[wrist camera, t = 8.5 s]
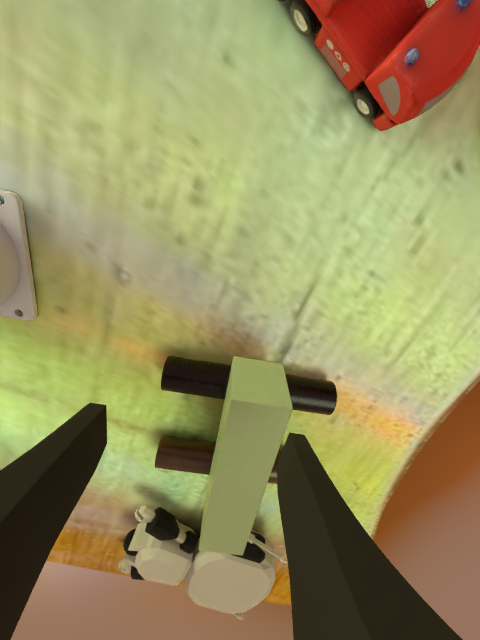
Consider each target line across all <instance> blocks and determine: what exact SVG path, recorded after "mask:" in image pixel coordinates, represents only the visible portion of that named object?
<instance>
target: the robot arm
mask: <svg viewBox="0 0 480 640" xmlns="http://www.w3.org/2000/svg"><path fill="white" fill-rule="evenodd" d="M0 196H2V197H3V199H4V204H3V203H2V202H1V200H0V316H2V317H8V318H14V319H20V320H26V321H32V320H34V319H35V318H37V316H38V311H37V304H36V297H35V289H34V282H33V275H32V268H31V261H30V254H29V246H28V239H27V232H26V225H25V218H24V211H23V203H22V200H21V198H20V197H19V196H18V195H17V194H16V193H14V192H10V191H5V190H0ZM19 310H21V311H22V313H23V314H22V313H20V311H19ZM106 444H107V418H106V405H101V404H94V403H89V404H88V405H86V406H85V407H84V408H82V409H81V410H80V411H79V412H78V413H76V414H75V415H74V416H73V417H71V418H70V419H69V420H68V421H66V422H65V423H64V424H63V425H61V426H60V427H59V428H58V429H56V430H55V431H54V432H53V433H51V434H50V435H49V436H47V437H46V438H45V439H43V440H42V441H41V442H40V443H38V444H37V445H36V446H34V447H33V448H32V449H30V450H29V451H27V452H26V453H25V454H23V455H22V456H20V457H19V458H18V459H16V460H15V461H13V462H12V463H11V464H9V465H8V466H6V467H5V468H3V469H2V470H0V640H10V639H11V637H12V635H13V632H14V630H15V628H16V626H17V623H18V621H19V619H20V617H21V614H22V612H23V610H24V608H25V605H26V603H27V601H28V599H29V596H30V594H31V592H32V590H33V588H34V586H35V583H36V581H37V579H38V577H39V574H40V573H41V571H42V568H43V566H44V564H45V562H46V560H47V558H48V555H49V553H50V551H51V549H52V547H53V546H54V544H55V542H56V540H57V538H58V536H59V534H60V532H61V531H62V529H63V527H64V525H65V524H66V522H67V520H68V518H69V516H70V515H71V513H72V511H73V509H74V508H75V506H76V504H77V502H78V501H79V499H80V497H81V495H82V493H83V492H84V490H85V488H86V486H87V484H88V483H89V481H90V479H91V477H92V475H93V474H94V472H95V470H96V468H97V465H98V463H99V461H100V459H101V456H102V454H103V451H104V449H105V447H106ZM277 486H278V499H279V506H280V513H281V520H282V526H283V533H284V540H285V546H286V553H287V560H288V568H289V576H290V589H291V603H292V617H293V635H294V640H462V639H461V638H460V637H459V636H458V635H457V634H456V633H455V632H454V631H453V630H452V629H451V628H450V627H449V626H448V625H447V624H446V623H445V622H444V621H443V620H442V619H441V618H440V616H439V615H438V614H437V613H436V612H435V611H434V610H433V609H432V608H431V607H430V606H429V605H428V604H427V603H426V602H425V601H424V600H423V599H422V597H420V595H419V594H418V593H417V592H416V591H415V590H414V589H413V588H412V586H411V585H410V584H409V583H408V582H407V581H406V580H405V579H404V577H403V576H402V575H401V574H400V573H399V572H398V570H397V569H396V568H395V567H394V566H393V565H392V564H391V562H390V561H389V560H388V559H387V558H386V556H385V555H384V554H383V553H382V551H381V550H380V549H379V548H378V546H377V545H376V544H375V543H374V541H373V540H372V539H371V537H370V536H369V535H368V534H367V532H366V531H365V530H364V528H363V527H362V526H361V524H360V523H359V521H358V520H357V519H356V517H355V516H354V514H353V513H352V511H351V510H350V509H349V507H348V506H347V504H346V503H345V501H344V500H343V498H342V497H341V495H340V494H339V492H338V491H337V489H336V487H335V486H334V484H333V483H332V481H331V479H330V478H329V476H328V475H327V473H326V471H325V470H324V468H323V466H322V465H321V463H320V461H319V459H318V458H317V456H316V454H315V453H314V451H313V449H312V447H311V446H310V444H309V442H308V440H307V439H306V437H305V435H301V434H295V433H289V435H288V438H287V441H286V443H285V446H284V449H283V451H282V454H281V457H280V460H279V462H278V465H277Z"/></svg>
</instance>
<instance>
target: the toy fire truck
mask: <svg viewBox="0 0 480 640" xmlns="http://www.w3.org/2000/svg"><path fill="white" fill-rule="evenodd" d="M279 1H285V0H279ZM290 13H291V16H292V19H293V21H294V24H295V25H296V27H297V28H298V30H299V31H300V33H301V34H303V35H304V36H307V37H308V36H311V35H312V34H315V37H316V39H315V44H316V46H317V48H318V49H319V50H320V52H321V53H322V55H323V56H324V58H325V59H326V61H327V62H328V63H329V65H330V66H331V67H332V68H333V69H334V71H335V73H336V75H337V76H338V77H339V79H340V80H341V81H342V82H343V83H344V86H345V87H346V88H347V89H348V90H349V91H355V93H354V104H355V106H356V108H357V110H358V111H359V113H360V114H361V115H363V116H364V117H365V118H373V124H374V126H375V127H376V128H377V129H378V130H379V131H383V130H387V129H389V128H392V127H394V126H396V125H398V124H402V123H404V122H406V121H409V120H411V119H413V118H415V117H417V116H419V115H420V114H422V113H424V112H425V111H427V110H428V109H430V108H431V107H432V106H434V105H435V104H436V103H438V102H439V101H440V100H441V99H442V98H444V97H445V96H446V95H447V94H448V93H449V92H450V91H451V90H452V89H453V88H454V86H455V85H456V84H457V83H458V82H459V80H460V79H461V78H462V76H463V75H464V73H465V72H466V70H467V69H468V67H469V65H470V64H471V62H472V60H473V58H474V56H475V54H476V52H477V49H478V47H479V45H480V0H438V1H437V2H435V3H434V4H433V5H432V6H431V7H430V8H427V6H426V2H425V0H293V1H292V4H291V10H290ZM319 26H321V27H322V28H321V29H320V30H319V31H318V32H316V31H317V29H318V27H319ZM360 85H361V86H360Z"/></svg>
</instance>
